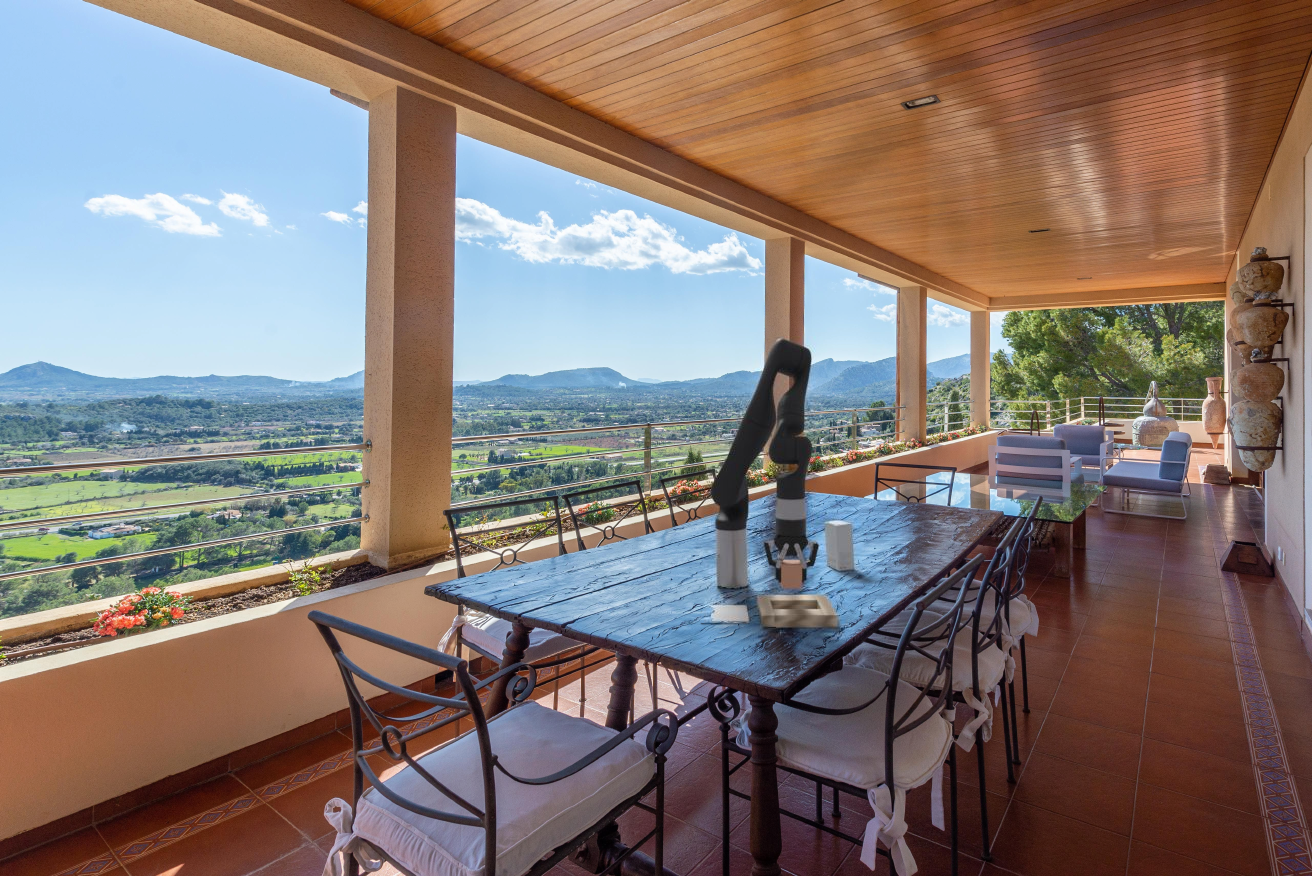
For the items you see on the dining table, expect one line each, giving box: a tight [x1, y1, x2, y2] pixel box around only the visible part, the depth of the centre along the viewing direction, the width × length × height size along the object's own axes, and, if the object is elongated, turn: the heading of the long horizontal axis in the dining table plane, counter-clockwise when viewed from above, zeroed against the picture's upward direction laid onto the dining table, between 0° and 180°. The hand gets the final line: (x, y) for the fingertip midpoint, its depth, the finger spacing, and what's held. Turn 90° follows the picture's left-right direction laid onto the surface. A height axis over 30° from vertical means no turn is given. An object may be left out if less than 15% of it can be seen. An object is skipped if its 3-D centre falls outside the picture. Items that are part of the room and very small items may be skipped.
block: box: [780, 559, 803, 590], centre depth 162 cm, size 5×5×6 cm
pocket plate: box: [756, 594, 839, 628], centre depth 163 cm, size 18×16×3 cm
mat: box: [709, 604, 750, 624], centre depth 166 cm, size 12×12×1 cm
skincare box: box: [824, 519, 855, 572], centre depth 207 cm, size 8×6×15 cm
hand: (790, 581), depth 163 cm, fingers closed on block, 5 cm apart
